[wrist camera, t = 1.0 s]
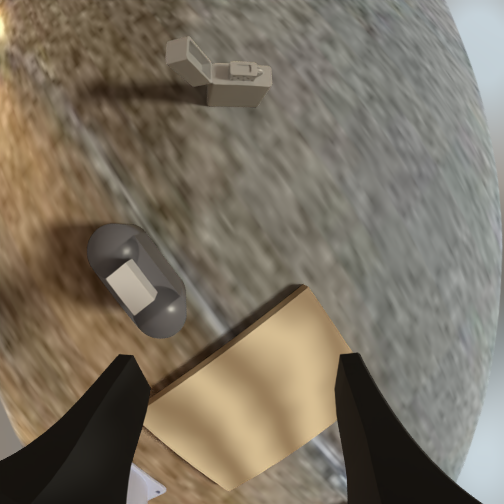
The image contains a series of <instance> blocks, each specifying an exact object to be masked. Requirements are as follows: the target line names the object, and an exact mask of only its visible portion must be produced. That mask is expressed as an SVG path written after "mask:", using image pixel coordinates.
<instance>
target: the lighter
mask: <svg viewBox="0 0 504 504" xmlns="http://www.w3.org/2000/svg"><path fill="white" fill-rule="evenodd" d="M166 64H167V65H168V66H169V67H170V68H172V69H173V70H174V71H175V72H176V73H178V74H179V75H180V76H181V77H182V78H183V79H185V80H186V81H187V82H188V83H189V84H190V85H191V86H193V87H195V86H200V85H205V84H208V87H207V105H208V106H209V107H254V108H256V107H257V106H258V105H259V104H260V102H261V101H262V99H263V98H264V96H265V95H266V93H267V92H268V90H269V89H270V87H271V86H272V73H271V68H270V67H269V66H262V65H257V63H256V62H240V61H231V62H230V64H227V63H214V64H213V65H212V62H211V61H210V60H209V59H208V57H207V56H206V55H205V54H204V53H203V52H202V50H201V49H200V48H199V47H198V46H197V45H196V43H195V42H194V41H193V40H192V39H191V38H190V37H189V36H186V37H182V38H179V39H175V40H171V41H168V42H167V49H166Z"/></svg>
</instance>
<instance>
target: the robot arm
mask: <svg viewBox="0 0 504 504" xmlns="http://www.w3.org/2000/svg"><path fill="white" fill-rule="evenodd" d="M150 390H151V387H150V386H149V384H148V382H147V380H146V378H145V377H144V375H143V373H142V371H141V369H140V367H139V365H138V364H137V362H136V360H135V358H134V356H133V355H122V354H119V355H118V356H117V357H116V358H115V359H114V361H113V362H112V363H111V364H110V365H109V366H108V367H107V369H106V370H105V371H104V372H103V373H102V374H101V375H100V377H99V378H98V379H97V380H96V381H95V382H94V384H93V385H92V386H91V387H90V388H89V389H88V390H87V391H86V393H85V394H84V395H83V396H82V397H81V398H80V399H79V400H78V401H77V402H76V403H75V404H74V405H73V406H72V408H71V409H70V410H69V411H68V412H67V413H66V414H65V415H64V416H63V417H62V418H61V419H60V420H58V421H57V422H56V423H55V424H54V425H53V426H52V427H51V428H49V429H48V430H47V431H46V432H45V433H43V434H42V435H41V436H39V437H38V438H37V439H35V440H34V441H33V442H31V443H30V444H28V445H27V446H26V447H24V448H22V449H21V450H19V451H18V452H16V453H14V454H13V455H11V456H9V457H7V458H5V459H3V460H1V461H0V504H147V501H148V500H150V499H152V498H154V497H156V496H159V495H161V494H163V493H165V492H166V487H165V486H163V485H162V484H160V483H159V482H158V481H156V480H155V479H153V478H152V477H151V476H149V475H148V474H147V473H145V472H144V471H143V470H141V469H140V468H139V467H137V466H136V465H135V464H133V463H132V461H133V457H134V453H135V450H136V447H137V443H138V440H139V437H140V433H141V430H142V427H143V423H144V420H145V416H146V413H147V408H148V403H149V396H150ZM334 391H335V404H336V416H337V421H338V427H339V432H340V438H341V443H342V449H343V455H344V461H345V467H346V475H347V494H348V504H482V503H481V502H479V501H478V500H477V499H475V498H474V497H473V496H471V495H470V494H469V493H467V492H466V491H465V490H464V489H462V488H461V487H460V486H459V485H457V484H456V483H455V482H454V481H453V480H452V479H451V478H450V477H448V476H447V475H446V474H445V473H444V472H443V471H442V470H441V469H440V468H439V467H438V466H437V465H436V464H435V463H434V462H433V461H432V460H431V459H430V458H429V457H428V455H427V454H426V453H425V452H424V451H423V450H422V449H421V448H420V446H419V445H418V444H417V443H416V442H415V440H414V439H413V438H412V437H411V435H410V434H409V433H408V432H407V430H406V429H405V428H404V426H403V425H402V423H401V422H400V421H399V419H398V418H397V417H396V415H395V414H394V412H393V411H392V409H391V408H390V406H389V405H388V403H387V401H386V400H385V398H384V397H383V395H382V394H381V392H380V390H379V389H378V387H377V385H376V383H375V382H374V380H373V378H372V376H371V375H370V373H369V371H368V369H367V367H366V365H365V363H364V361H363V359H362V357H361V355H360V354H359V353H348V354H340V357H339V363H338V369H337V376H336V382H335V387H334Z"/></svg>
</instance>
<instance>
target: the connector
mask: <svg viewBox="0 0 504 504" xmlns="http://www.w3.org/2000/svg"><path fill="white" fill-rule="evenodd" d="M87 257H88V261H89V263H90V265H91V267H92V269H93V270H94V271H95V273H96V274H97V276H98V277H99V278H100V280H101V281H102V282H103V284H104V285H105V286H106V288H107V289H108V290H109V292H110V293H111V294H112V295H113V297H114V298H115V299H116V301H117V302H118V303H119V304H120V306H121V307H122V308H123V309H124V311H125V312H126V313H127V314H128V316H129V317H130V318H131V319H132V321H133V322H134V323H135V324H136V325H137V327H138V328H139V329H140V330H141V331H142V332H143V333H145V334H146V335H148V336H150V337H153V338H160V339H161V338H168V337H171V336H173V335H175V334H176V333H177V332H179V331H180V330H181V328H182V327H183V325H184V323H185V320H186V289H185V285H184V283H183V281H182V280H181V278H180V277H179V276H178V274H177V273H176V272H175V270H174V269H173V268H172V267H171V265H170V264H169V263H168V261H167V260H166V259H165V257H164V256H163V255H162V253H161V252H160V251H159V249H158V248H157V247H156V245H155V244H154V243H153V241H152V240H151V238H150V237H149V236H148V234H147V233H146V232H145V231H144V230H143V229H142V228H141V227H139V226H137V225H133V224H107V225H104V226H102V227H100V228H98V229H97V230H96V231H95V232H94V233H93V234H92V236H91V237H90V239H89V242H88V246H87Z"/></svg>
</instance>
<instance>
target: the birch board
mask: <svg viewBox="0 0 504 504" xmlns="http://www.w3.org/2000/svg"><path fill="white" fill-rule="evenodd" d="M348 353H353V352H352V351H351V349H350V348H349V346H348V345H347V343H346V342H345V340H344V339H343V337H342V336H341V334H340V333H339V331H338V330H337V328H336V327H335V325H334V324H333V322H332V321H331V319H330V318H329V316H328V315H327V313H326V312H325V310H324V309H323V307H322V306H321V305H320V303H319V302H318V300H317V299H316V297H315V296H314V294H313V293H312V291H311V290H310V288H309V287H308V286H306V285H304V284H303V285H302V286H300V287H299V288H298V289H297V290H295V291H294V292H293V293H292V294H290V295H289V296H288V297H287V298H285V299H284V300H283V301H282V302H280V303H279V304H278V305H276V306H275V307H274V308H273V309H271V310H270V311H269V312H268V313H266V314H265V315H264V316H262V317H261V318H260V319H258V320H257V321H256V322H255V323H253V324H252V325H251V326H249V327H248V328H247V329H245V330H244V331H243V332H241V333H240V334H239V335H237V336H236V337H235V338H233V339H232V340H231V341H229V342H228V343H227V344H225V345H224V346H223V347H221V348H220V349H219V350H217V351H216V352H215V353H213V354H212V355H211V356H209V357H208V358H206V359H205V360H204V361H202V362H201V363H199V364H198V365H197V366H195V367H194V368H193V369H191V370H190V371H188V372H187V373H186V374H184V375H183V376H181V377H180V378H178V379H177V380H176V381H174V382H173V383H171V384H170V385H168V386H167V387H166V388H164V389H163V390H161V391H160V392H158V393H157V394H155V395H154V396H152V397H151V398H150V399H149V403H148V408H147V413H146V416H145V420H144V423H143V425H144V426H145V427H146V428H147V429H148V430H150V431H151V432H152V433H153V434H154V435H155V436H156V437H158V438H159V439H160V440H161V441H162V442H163V443H165V444H166V445H167V446H168V447H169V448H171V449H172V450H173V451H174V452H176V453H177V454H178V455H179V456H181V457H182V458H183V459H184V460H186V461H187V462H188V463H190V464H191V465H192V466H194V467H195V468H196V469H198V470H199V471H200V472H202V473H203V474H204V475H206V476H207V477H209V478H210V479H211V480H213V481H214V482H216V483H217V484H219V485H220V486H221V487H223V488H224V489H226V490H227V491H230V490H232V489H234V488H236V487H237V486H239V485H241V484H243V483H245V482H246V481H248V480H250V479H251V478H253V477H255V476H256V475H258V474H260V473H261V472H263V471H265V470H266V469H268V468H270V467H271V466H273V465H274V464H276V463H277V462H279V461H280V460H282V459H284V458H285V457H287V456H288V455H290V454H291V453H293V452H294V451H295V450H297V449H298V448H300V447H301V446H303V445H304V444H305V443H307V442H308V441H310V440H311V439H312V438H314V437H315V436H317V435H318V434H319V433H321V432H322V431H323V430H325V429H326V428H327V427H329V426H330V425H331V424H332V423H334V422H335V421H336V420H337V416H336V404H335V391H334V387H335V382H336V376H337V369H338V363H339V357H340V354H348Z"/></svg>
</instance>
